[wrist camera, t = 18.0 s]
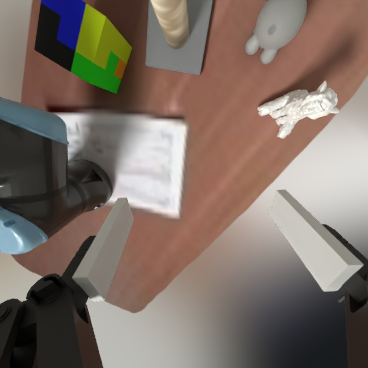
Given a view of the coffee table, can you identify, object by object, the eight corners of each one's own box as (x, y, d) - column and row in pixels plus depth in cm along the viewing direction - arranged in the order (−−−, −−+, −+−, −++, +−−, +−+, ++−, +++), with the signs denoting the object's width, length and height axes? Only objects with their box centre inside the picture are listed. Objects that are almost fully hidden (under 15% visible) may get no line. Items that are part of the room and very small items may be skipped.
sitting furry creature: (254, 110, 35) (280, 102, 24) (288, 77, 32) (335, 51, 21) (278, 140, 36) (313, 145, 25) (312, 111, 34) (369, 103, 23)
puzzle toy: (89, 20, 32) (44, -25, 22) (132, 48, 33) (105, 16, 23) (77, 70, 35) (34, 49, 26) (116, 94, 36) (88, 82, 27)
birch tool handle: (163, 47, 31) (143, 2, 20) (166, 15, 29) (146, -54, 18) (187, 50, 31) (180, 8, 20) (191, 18, 29) (186, -49, 18)
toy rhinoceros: (294, 24, 31) (343, -35, 22) (265, 73, 31) (304, 32, 22) (267, 1, 30) (306, -69, 22) (237, 51, 30) (265, 0, 21)
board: (147, 66, 34) (145, 64, 32) (151, -8, 29) (149, -13, 28) (200, 75, 33) (200, 73, 32) (212, 1, 29) (213, -4, 28)
